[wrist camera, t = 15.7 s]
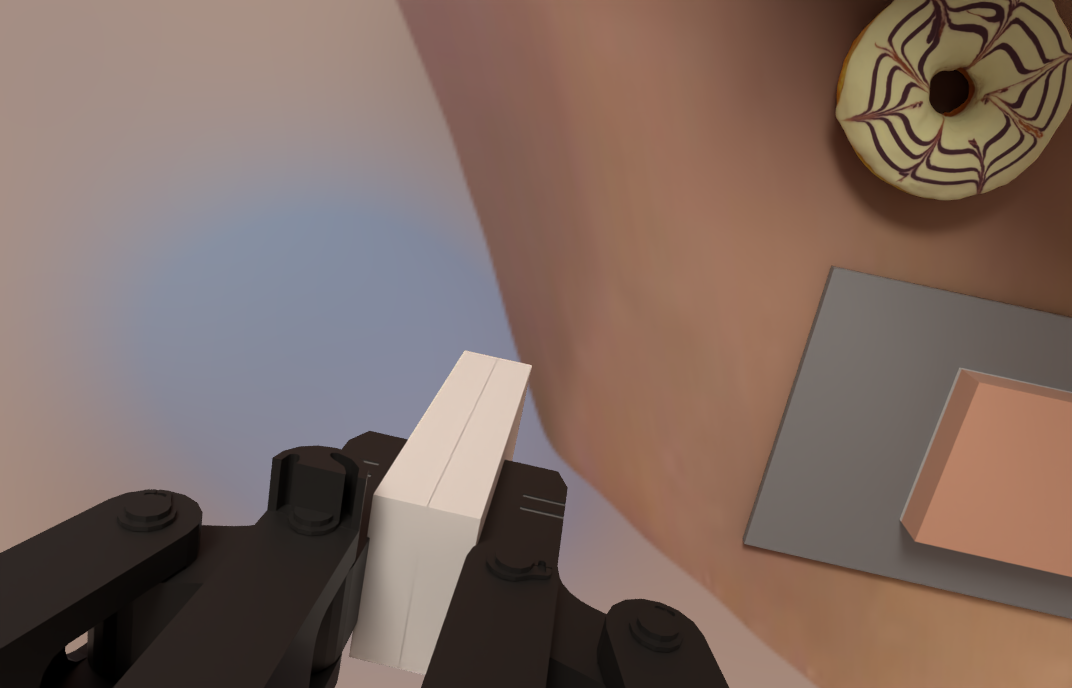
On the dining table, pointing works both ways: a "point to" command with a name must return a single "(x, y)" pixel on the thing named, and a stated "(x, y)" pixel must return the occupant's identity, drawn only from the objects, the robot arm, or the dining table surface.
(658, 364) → the dining table surface
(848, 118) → the decorated donut
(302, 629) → the robot arm
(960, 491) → the terracotta tile
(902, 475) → the slate mat
